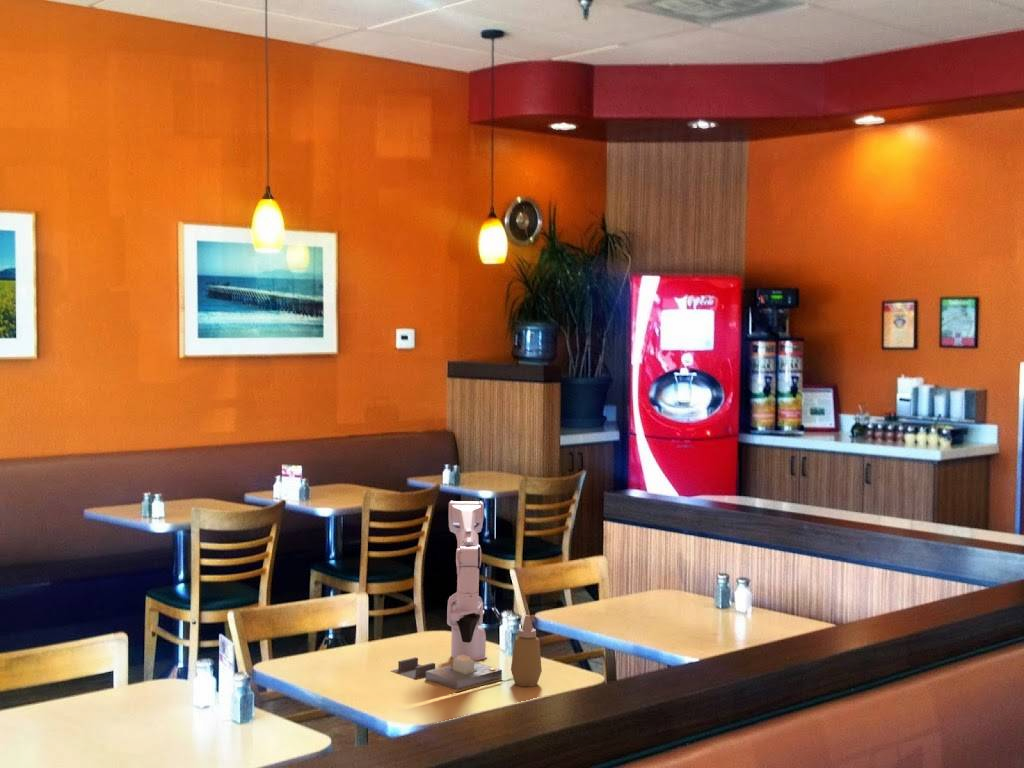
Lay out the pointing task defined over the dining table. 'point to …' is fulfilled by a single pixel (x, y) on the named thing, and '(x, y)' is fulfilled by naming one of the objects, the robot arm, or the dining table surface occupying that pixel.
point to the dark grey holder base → (413, 668)
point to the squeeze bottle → (526, 656)
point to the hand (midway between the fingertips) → (466, 641)
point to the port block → (464, 676)
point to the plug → (463, 664)
